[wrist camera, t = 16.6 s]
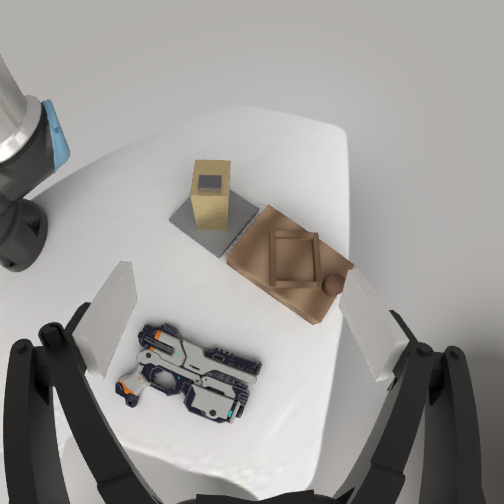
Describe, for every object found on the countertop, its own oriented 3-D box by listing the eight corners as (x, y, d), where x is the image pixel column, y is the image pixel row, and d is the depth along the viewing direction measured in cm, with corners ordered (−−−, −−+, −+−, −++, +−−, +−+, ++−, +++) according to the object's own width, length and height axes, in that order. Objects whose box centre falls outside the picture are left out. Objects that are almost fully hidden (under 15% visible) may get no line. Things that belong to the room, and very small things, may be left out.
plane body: (225, 264, 45) (226, 251, 39) (265, 214, 49) (271, 195, 43) (311, 325, 43) (325, 321, 37) (345, 270, 46) (361, 259, 40)
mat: (169, 221, 47) (168, 219, 46) (209, 179, 50) (209, 176, 49) (219, 258, 45) (219, 256, 44) (258, 211, 49) (258, 208, 48)
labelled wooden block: (197, 229, 46) (189, 190, 34) (200, 198, 48) (194, 154, 36) (227, 230, 46) (228, 191, 35) (229, 199, 48) (230, 155, 37)
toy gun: (115, 394, 36) (147, 315, 42) (227, 445, 35) (261, 362, 41) (108, 396, 34) (142, 312, 39) (227, 450, 33) (263, 363, 38)
